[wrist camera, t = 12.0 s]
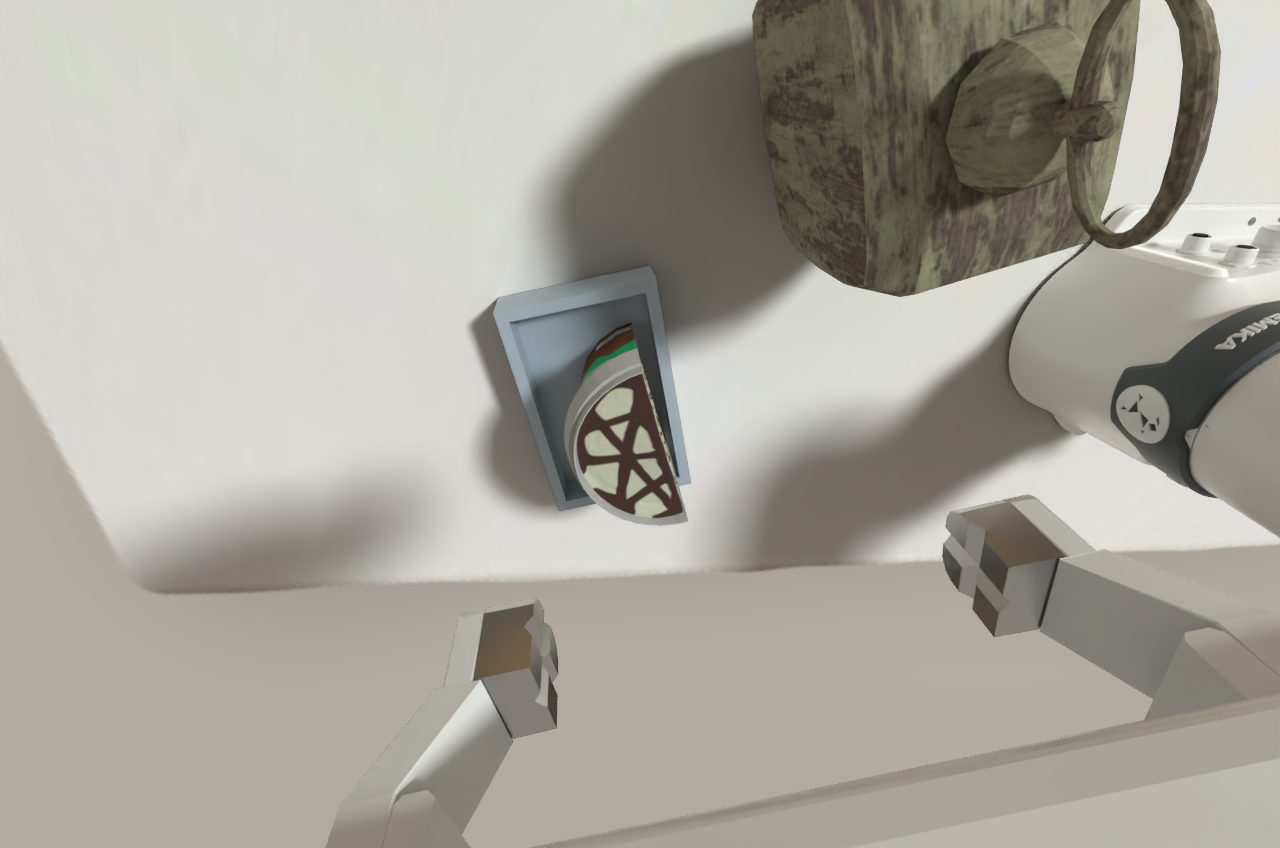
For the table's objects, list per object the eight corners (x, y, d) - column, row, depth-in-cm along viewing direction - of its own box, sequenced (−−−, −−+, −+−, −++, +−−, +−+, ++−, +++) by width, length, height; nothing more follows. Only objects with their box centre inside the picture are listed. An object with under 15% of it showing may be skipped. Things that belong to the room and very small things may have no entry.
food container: (540, 327, 40) (532, 394, 32) (625, 302, 40) (640, 363, 31) (594, 466, 47) (599, 552, 38) (668, 445, 46) (690, 527, 38)
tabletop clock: (894, 199, 39) (1289, 344, 17) (763, 239, 39) (992, 429, 18) (882, -72, 31) (1544, -395, 10) (721, -18, 32) (1025, -216, 11)
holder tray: (650, 265, 39) (656, 278, 37) (684, 461, 48) (691, 483, 45) (498, 297, 40) (492, 313, 37) (559, 487, 48) (558, 511, 45)
